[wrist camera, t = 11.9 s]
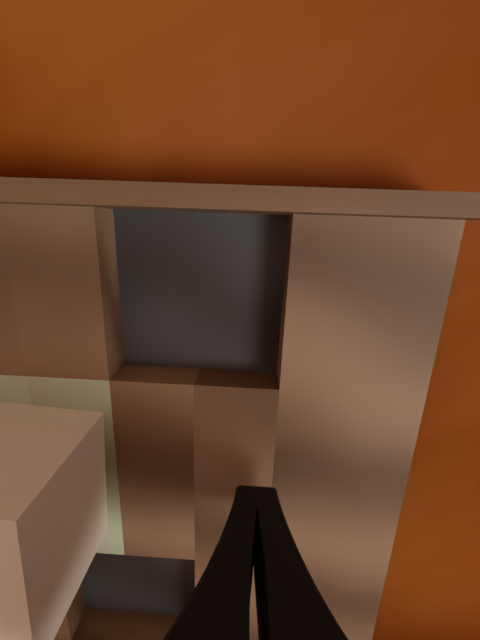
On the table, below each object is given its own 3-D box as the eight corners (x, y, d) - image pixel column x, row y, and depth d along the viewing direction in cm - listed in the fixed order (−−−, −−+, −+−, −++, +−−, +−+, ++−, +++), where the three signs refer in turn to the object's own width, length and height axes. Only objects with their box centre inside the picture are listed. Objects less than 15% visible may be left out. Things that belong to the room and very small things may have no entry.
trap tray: (354, 632, 17) (374, 717, 14) (15, 606, 17) (-33, 682, 14) (440, 201, 11) (507, 193, 8) (-82, 184, 11) (-197, 170, 8)
